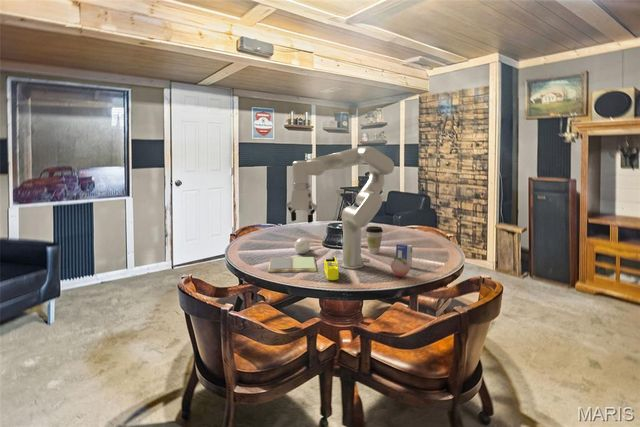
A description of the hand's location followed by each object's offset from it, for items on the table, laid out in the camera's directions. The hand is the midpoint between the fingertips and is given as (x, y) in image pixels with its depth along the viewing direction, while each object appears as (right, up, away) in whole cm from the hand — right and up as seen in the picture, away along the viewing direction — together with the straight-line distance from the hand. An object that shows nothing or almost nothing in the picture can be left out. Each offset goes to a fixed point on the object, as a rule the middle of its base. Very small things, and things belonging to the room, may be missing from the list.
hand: (302, 221), depth 192 cm
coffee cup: (+41, -19, +41) cm, 61 cm away
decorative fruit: (+48, -27, -2) cm, 55 cm away
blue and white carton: (+52, -24, +14) cm, 59 cm away
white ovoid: (-2, -19, +41) cm, 45 cm away
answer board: (-6, -23, +15) cm, 28 cm away
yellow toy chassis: (+14, -27, -1) cm, 30 cm away
